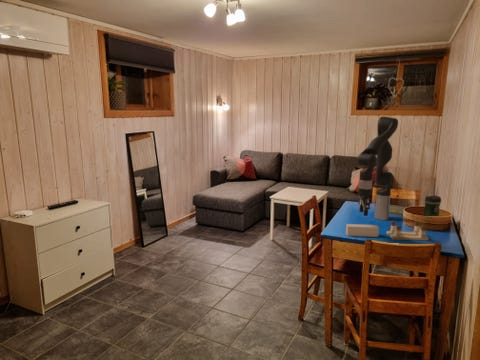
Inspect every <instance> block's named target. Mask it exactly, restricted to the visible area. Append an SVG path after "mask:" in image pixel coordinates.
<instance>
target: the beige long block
mask: <svg viewBox="0 0 480 360" xmlns="http://www.w3.org/2000/svg"><path fill="white" fill-rule="evenodd" d="M379 231H380V227H379V226H378V225H377V224H360V223H358V224H352V223H346V227H345V234H346V236H349V237H370V238H371V237H374V238H375V237H376V238H377V237H379V235H380V234H379V233H380V232H379Z"/></svg>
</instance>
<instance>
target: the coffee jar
mask: <svg viewBox="0 0 480 360" xmlns="http://www.w3.org/2000/svg"><path fill="white" fill-rule="evenodd" d="M441 203H442V198H441V196H438V195H429V196H425V197H424V210H423V215H424V216H439V217H440V205H441Z"/></svg>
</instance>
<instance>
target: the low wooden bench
mask: <svg viewBox="0 0 480 360" xmlns="http://www.w3.org/2000/svg"><path fill="white" fill-rule="evenodd" d="M426 230H427V227H426V226H425V225H421V226H420V222H419V221H414V227H413V231H408V230H407V231H403V230H402V226H401V225H396V221H394V220H391V221H390V230H386V234H387V235H388V237H390V238H391V239H392V240H395V241H396V240H397V241H399V240H400V241H407V240H408V241H429V239H430V238H429V237H428V236H427V235H426Z"/></svg>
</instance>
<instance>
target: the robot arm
mask: <svg viewBox="0 0 480 360" xmlns="http://www.w3.org/2000/svg"><path fill="white" fill-rule="evenodd" d="M398 126H399V120H398V119H397V118H394V117H390V116H380V117H379V119H378V120H377V136H376V137H375V138H373V139H372V140H371V141H370V143H369V144H368V146H367V147H366V148H365V149H364V150H363V151H361V152H360V153H359V155H358V156H357V160H356V162H357V164H358V165H359V166H365V167H367V168H366V169H361V170H359V180H358V187H357V188H358V189H357V195H358V205H359V208H358V209H359V213H363V216H364V217H368V215H369V210H370V209H371V199H370V198H369V197H371V196H372V193H373V192H372V191H373V173H374V170H375V177H374V182H375V184H376V185H379V186H385V187H383V188H380V189H377V190H376V193H375V194H376V195H375V209H374V219H376V220H381V221H388V220H389V219H390V217H389V216H390V214H389V208H390V205H391V193H392V192H391V190H392V182H393V173H392V172H388V171H382V170H383V169H384V167H385V166H387V164H388V163H389V162H390V161H391V160H392V158H393V147H392V145H391V142H390V141H389V139H390V138H391V137H392V136H393V134H394V133H395V132H396V131H397V129H398ZM375 167H376V169H375Z"/></svg>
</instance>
